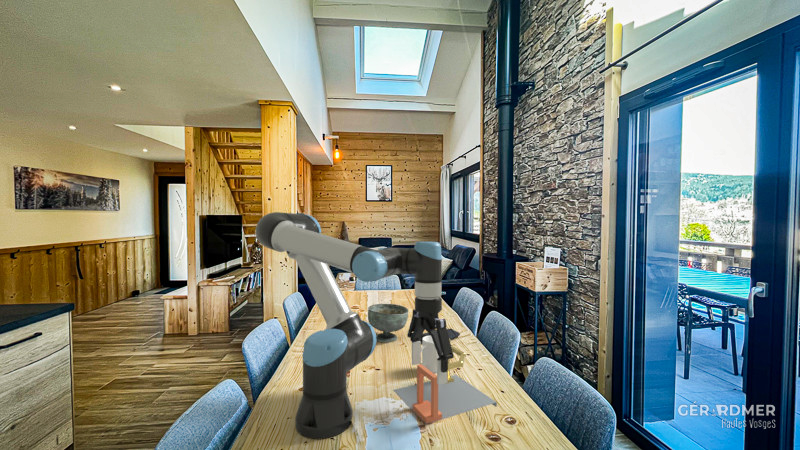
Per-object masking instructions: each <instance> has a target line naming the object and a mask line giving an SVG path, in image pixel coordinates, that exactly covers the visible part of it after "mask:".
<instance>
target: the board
mask: <svg viewBox="0 0 800 450" xmlns="http://www.w3.org/2000/svg"><path fill="white" fill-rule="evenodd" d="M450 376H451V377H453V378H454V382H450V383H446V384H445V383H444V384H441V385H438V410H439V411H440V412H441V413H442V419H440V420H436V421H433V422H430V423H427V424H426V423H425V422H424V421H423V420H422V418H421V417H420V416H419V415H418V414H417V413H416V412H415V411H414V410H413V404H415V403H418V402H417V383H416V384H412V385H408V386H404V387H400V388H397V389H393V392H394V393H395V394H396V395H397V396H398V397H399V399H401V400H402V401H403V402H404V403H405V404H406V405H407V406H408V407H409V409H410V410H412V411H413V413H414V414H415V415H416V416H417V417H418V418H419V419H420V420H421V421H422V423H424V425H429V424H432V423H435V422H439V421H442V420H445V419H448V418H450V417H451V418H452V417H454V416H457V415H461V414H464V413H467V412H471V411H473V410H477V409H479V408H483V407H486V406H489V405H492V406H494V407H498V406H497V405H498V402H497V401H495V400H494V399H493V398H491V397H490V396H488V395H486V394H485V393H484V392H482V391H481V390H479V389H478V388H476V387H475V386H473V385H472V384H470V383H469V382H467V381H466V380H465V379H463V378H462V377H460V376H458V375H457V374H453V375H450ZM426 400H428V401H429V402H430V403H431V380H429V381H424V393H423V401H426Z"/></svg>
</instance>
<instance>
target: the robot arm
mask: <svg viewBox="0 0 800 450" xmlns="http://www.w3.org/2000/svg"><path fill="white" fill-rule="evenodd" d="M255 236H256V239H257V240H258V241H257V242H259V243H260V244H261V245H262V246H263V247H264V248H268V249H270V250H272V251H275V252H279V253H284V252H286V254H287V256H288V257H289V259H293V260H295V261H296V264H297V265H298V268H299V270H300V272H301V274H302V276H303V279H305V282H306V284H307V286H308V288H309V291H310V292H311V295H312V297H313V298H314V300H315V303H316V305H317V307H318V309H319V311H320V313H321V315H322V317H323V319H324V321H325V324H326V328H325V329H324V330H318V331H315V332H313V333H311V334H310V335H308V337H307V338H305V341H304V343H303V351H302V396H301V399H300V403H299V404H298V409H297V412H296V415H295V429H296V431H297V432H298V434H300V435H302V436H304V438H305V437H306V438H308V439H309V438H310V439H327V438H331V437H334V436H337V435H340V434H342V433H343V432H345V431H346V430H348V428H350V426H351V424H352V422H353V421H352V420H353V419H352V418H353V408H352V404H351V401H350V398H349V397H350V396H349V394H348V392H347V379H348V377H347V373H348V372H350V371H351V370H352V369H354V368H355V367H357V366H358V365H359V364H361V363H363V362H364V361H366V360H367V359H368V358H369V357H370V356H371V355H372V354H373V353H374V351H375V349H376V345H377V340H376V337H377V334H376V331H375V330H376V329H375V328H374V327H372V326H371V324H370V323H369V321H366V320H362V318H361V316H360V315H359V313H358V312H356V311H353V310H352V309H351V308H350V306H349V304H348V302H347V299H346V298H345V296H344V293H343V291H342V290H341V288H340V286H339V284H338V282H337V280H336V277H335V276H334V274H333V272H332V270H331V268H330V266H332V267H335V268H337V269H340V270H343V271H346V272H348V273H352V274H353V275H354V276H355V277H356V278H357V280H358V281H360V282H365V283H369V282H370V283H371V282H373V283H374V282H376V281H380V280H381V279H384V278H387V277H388V278H389V277H391V276H393V275H409V276H410V275H411V276H414V296H416V297H415V298H414V308H413V309H412V316H411V320H410V322H409V323H410V324H409V328H408V330H407V337H408V338H410V342H411V365H412V366H415V365H416V366H417V365H419V364H421V363H422V352H421V348H422V343H421V341H418V340H421V338H420V337H421V335H422V334H423V333H425V331H426V333H429V335H431V337H432V340H433V342H434V345H435V348H436V350H437V353H438V356H439V358H437V373H436V375H437V384H438V385H441V384H444V383H447V372H448V359H450V360H451V359H454V352H453V351H452V348H451V345H452V344H451V343H450V340H449V336H448V332H447V329H448V328H447V320H446V318H440V317H439V313H441V311H442V310H443V309H442V308H443V306H442V305H443V302H442V300H443V299H442V294H443V292H442V286H443V285H442V279H443V278H442V275H443V274H442V272H443V271H442V267H443V266H442V263H443V262H442V260H443V257H442V245H441V243H440V242H438V241H416V242H415V243H414V246H413V248H412V247H411V248H405V247H388V246H387V247H380V248H378V249H373V248H370V247H367V246H363V245H361V244H356V243H353V242H350V241H347V240H344V239H340V238H338V237H337V238H336V237H334V236H333V237H332V236H329V235H326V234H323V233H322V229H321V225H320V223H319V221H318V220H317V219H316V218H315V217H313V216H312V215H311V214H306V213H302V212H301V213H300V212H298V213H292V212H291V213H290V212H279V211H275V212H270V213H267V214H265V215H264V216H262V217H261V218H259V220H258V221H257V223H256V226H255Z"/></svg>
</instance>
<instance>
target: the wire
mask: <svg viewBox="0 0 800 450" xmlns="http://www.w3.org/2000/svg"><path fill="white" fill-rule="evenodd" d="M449 340H450V339H449ZM451 341H452V340H450V344H451V343H452V342H451ZM451 348H452V351H453V354H455V355H457V356H459V358H458V359H459V360H458V361H454V362H451V359H448V372H447V383H450V382H454V378H453V377H451V376H452V375H450V370H454V369H458V368H462V367H463V366H464V363H465V360H466V357H467V354H466V352H464V351H462V350H461V349H459V348H457V347H456V346H453V345H452V344H451ZM445 384H446V383H445Z"/></svg>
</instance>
